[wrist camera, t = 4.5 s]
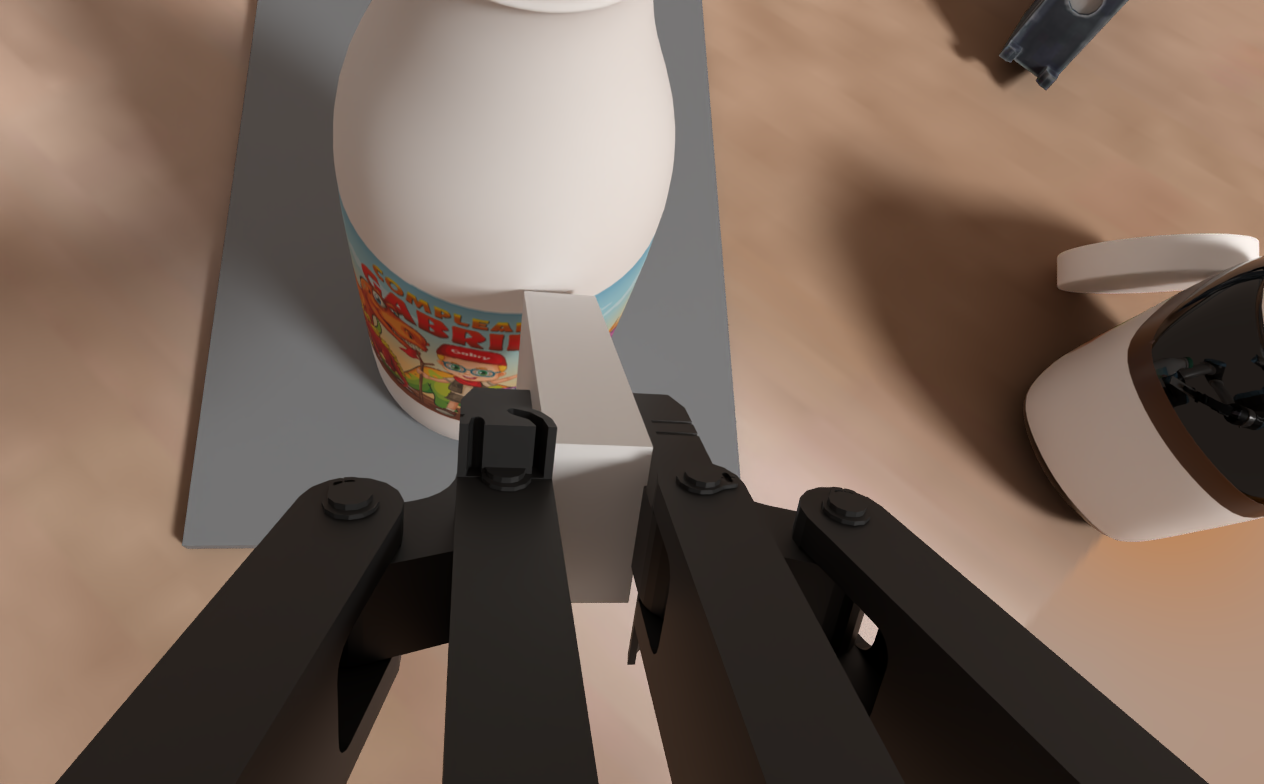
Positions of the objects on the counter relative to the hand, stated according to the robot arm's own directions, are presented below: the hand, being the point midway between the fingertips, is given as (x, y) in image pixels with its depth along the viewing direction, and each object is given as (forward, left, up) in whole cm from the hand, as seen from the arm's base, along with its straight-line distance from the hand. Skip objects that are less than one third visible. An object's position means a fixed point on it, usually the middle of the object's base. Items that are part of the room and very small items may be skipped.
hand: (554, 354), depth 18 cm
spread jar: (+21, +12, -12) cm, 27 cm away
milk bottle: (-3, +4, -11) cm, 12 cm away
